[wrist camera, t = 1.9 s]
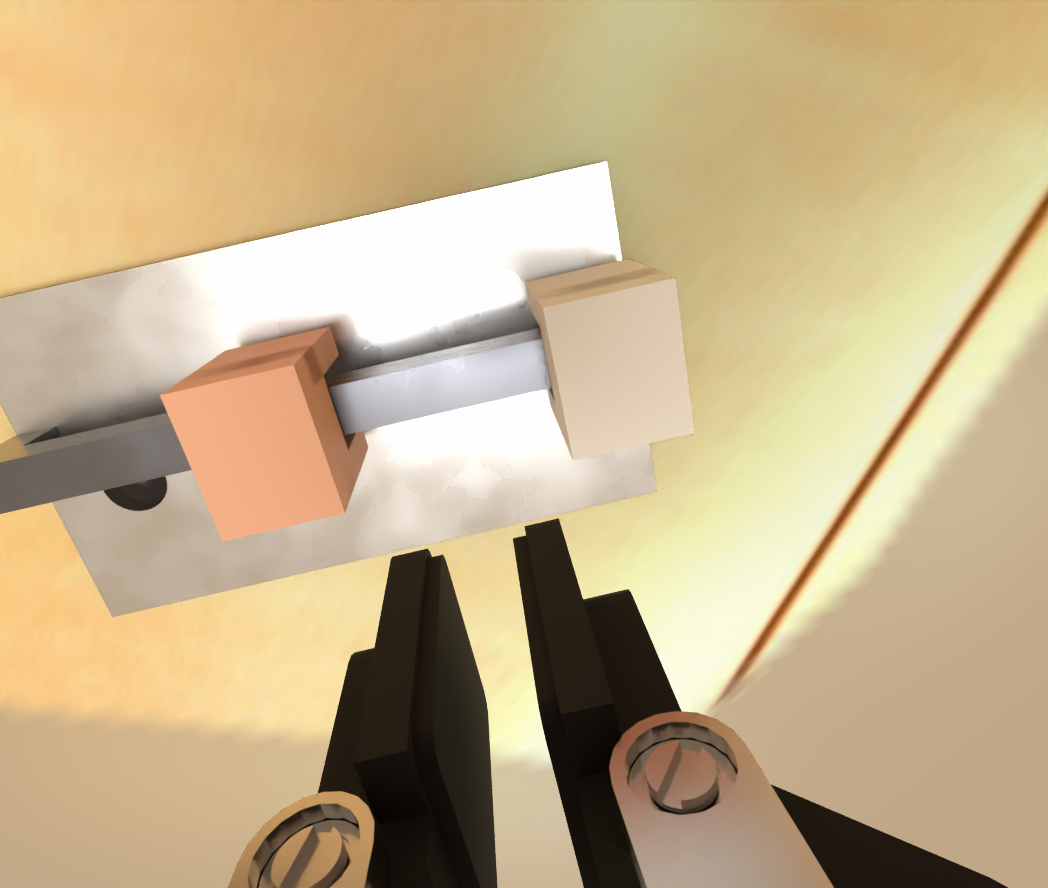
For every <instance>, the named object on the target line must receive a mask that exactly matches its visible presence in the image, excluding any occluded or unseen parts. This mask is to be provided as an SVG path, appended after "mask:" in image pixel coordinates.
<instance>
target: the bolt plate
mask: <svg viewBox="0 0 1048 888" xmlns="http://www.w3.org/2000/svg"><path fill="white" fill-rule="evenodd" d="M620 260H622V257H621V250H620V244H619V237H618V230H617V224H616V217H615V211H614V204H613V197H612V191H611V184H610V177H609V171H608V164H607V161H605V162H600V163H596V164H592V165H587V166H583V167H578V168H574V169H569V170H565V171H561V172H556V173H552V174H547V175H543V176H538V177H534V178H530V179H525V180H521V181H516V182H512V183H508V184H503V185H499V186H494V187H490V188H485V189H481V190H477V191H472V192H468V193H463V194H459V195H454V196H450V197H446V198H441V199H437V200H432V201H428V202H424V203H419V204H415V205H410V206H406V207H401V208H397V209H393V210H388V211H384V212H379V213H375V214H370V215H366V216H362V217H357V218H353V219H348V220H344V221H339V222H335V223H331V224H326V225H322V226H317V227H313V228H309V229H304V230H300V231H295V232H291V233H286V234H282V235H278V236H273V237H269V238H264V239H260V240H255V241H251V242H247V243H242V244H238V245H233V246H229V247H225V248H220V249H216V250H211V251H207V252H202V253H198V254H194V255H189V256H185V257H180V258H176V259H171V260H167V261H163V262H158V263H154V264H149V265H145V266H141V267H136V268H132V269H127V270H123V271H118V272H114V273H110V274H105V275H101V276H96V277H92V278H87V279H83V280H79V281H74V282H70V283H65V284H61V285H57V286H52V287H48V288H43V289H39V290H34V291H30V292H26V293H21V294H17V295H12V296H8V297H3V298H0V404H1V406H2V408H3V410H4V412H5V414H6V416H7V418H8V419H9V421H10V423H11V425H12V427H13V429H14V431H15V433H16V435H20V434H24V433H29V432H33V431H37V430H42V429H46V428H51V427H55V426H56V427H57V429H58V431H59V433H60V435H61V437H64V436H68V435H72V434H77V433H81V432H86V431H90V430H94V429H99V428H103V427H107V426H112V425H116V424H121V423H125V422H129V421H134V420H138V419H143V418H147V417H151V416H156V415H160V414H164V413H167V411H166V409H165V406H164V404H163V402H162V399H161V397H160V395H161V394H162V393H164V392H165V391H167V390H168V389H170V388H171V387H173V386H174V385H176V384H177V383H179V382H180V381H181V380H183V379H184V378H186V377H187V376H189V375H190V374H192V373H193V372H195V371H196V370H198V369H199V368H200V367H202V366H203V365H205V364H206V363H208V362H209V361H211V360H212V359H214V358H215V357H216V356H218V355H219V354H221V353H222V352H224V351H225V350H229V349H234V348H238V347H242V346H247V345H251V344H256V343H260V342H264V341H269V340H273V339H278V338H282V337H286V336H291V335H295V334H300V333H304V332H308V331H313V330H317V329H322V328H326V327H330V329H331V332H332V335H333V338H334V341H335V344H336V347H337V351H338V354H339V355H338V356H337V358H336V359H335V361H334V362H333V363H332V365H331V366H330V367H329V369H328V370H327V371H326V373H325V374H324V377H327V376H331V375H335V374H340V373H344V372H349V371H353V370H357V369H362V368H366V367H371V366H375V365H379V364H384V363H388V362H392V361H397V360H401V359H406V358H410V357H414V356H419V355H423V354H428V353H432V352H436V351H441V350H445V349H449V348H454V347H458V346H463V345H467V344H471V343H476V342H480V341H485V340H489V339H493V338H498V337H502V336H506V335H511V334H515V333H520V332H524V331H528V330H533V329H537V328H540V326H539V324H538V322H537V321H536V319H535V317H534V316H533V314H532V312H531V310H530V305H529V300H528V295H527V290H526V285H525V282H528V281H533V280H537V279H541V278H546V277H550V276H555V275H559V274H563V273H568V272H572V271H576V270H581V269H585V268H590V267H594V266H598V265H603V264H607V263H612V262H616V261H620ZM363 432H364V435H365V438H366V441H367V444H368V450H367V453H366V456H365V459H364V462H363V464H362V467H361V470H360V473H359V476H358V479H357V481H356V484H355V487H354V490H353V493H352V495H351V498H350V501H349V504H348V507H347V510H346V512H345V514H341V515H336V516H332V517H328V518H323V519H319V520H315V521H310V522H306V523H302V524H297V525H293V526H289V527H284V528H280V529H276V530H271V531H267V532H263V533H258V534H254V535H249V536H245V537H241V538H236V539H232V540H228V541H222V539H221V536H220V534H219V532H218V529H217V527H216V525H215V522H214V520H213V518H212V515H211V513H210V511H209V508H208V506H207V504H206V501H205V499H204V497H203V494H202V492H201V490H200V488H199V485H198V483H197V481H196V478H195V476H194V474H193V471H192V470H190V471H185V472H181V473H177V474H172V475H168V476H164V477H159V478H155V479H150V480H146V481H142V482H137V483H133V484H129V485H124V486H120V487H116V488H111V489H107V490H102V491H98V492H94V493H89V494H85V495H81V496H76V497H72V498H67V499H63V500H59V501H54V502H52V503H53V505H54V507H55V509H56V511H57V513H58V514H59V516H60V518H61V520H62V522H63V524H64V526H65V528H66V530H67V532H68V533H69V535H70V537H71V539H72V541H73V543H74V545H75V547H76V549H77V551H78V552H79V554H80V556H81V558H82V560H83V562H84V564H85V566H86V568H87V570H88V571H89V573H90V575H91V577H92V579H93V581H94V583H95V585H96V587H97V589H98V590H99V592H100V594H101V596H102V598H103V600H104V602H105V604H106V606H107V608H108V609H109V611H110V613H111V615H112V617H115V616H120V615H124V614H128V613H133V612H137V611H141V610H146V609H150V608H154V607H159V606H163V605H167V604H172V603H176V602H180V601H185V600H189V599H193V598H198V597H202V596H206V595H211V594H215V593H219V592H224V591H228V590H232V589H237V588H241V587H245V586H250V585H254V584H258V583H263V582H267V581H271V580H276V579H280V578H284V577H289V576H293V575H297V574H302V573H306V572H310V571H315V570H319V569H323V568H328V567H332V566H336V565H341V564H345V563H349V562H354V561H358V560H362V559H367V558H371V557H375V556H380V555H384V554H388V553H393V552H397V551H401V550H406V549H410V548H415V547H419V546H423V545H428V544H432V543H436V542H441V541H445V540H449V539H454V538H458V537H462V536H467V535H471V534H475V533H480V532H484V531H488V530H493V529H497V528H501V527H506V526H510V525H514V524H519V523H523V522H527V521H532V520H536V519H540V518H545V517H549V516H553V515H558V514H562V513H566V512H571V511H575V510H579V509H584V508H588V507H592V506H597V505H601V504H605V503H610V502H614V501H618V500H623V499H627V498H631V497H636V496H640V495H644V494H649V493H653V492H657V489H656V482H655V475H654V469H653V462H652V456H651V449H650V444H645V445H641V446H637V447H632V448H628V449H624V450H619V451H615V452H611V453H606V454H602V455H598V456H593V457H589V458H584V459H580V460H576V461H573V459H572V457H571V454H570V452H569V449H568V447H567V445H566V442H565V440H564V437H563V435H562V433H561V430H560V428H559V426H558V423H557V421H556V418H555V416H554V414H553V411H552V409H551V406H550V402H549V397H548V392H547V389H544V390H539V391H535V392H531V393H526V394H522V395H517V396H513V397H509V398H504V399H500V400H496V401H491V402H487V403H483V404H478V405H474V406H469V407H465V408H461V409H456V410H452V411H448V412H443V413H439V414H434V415H430V416H426V417H421V418H417V419H413V420H408V421H404V422H400V423H395V424H391V425H386V426H382V427H378V428H373V429H369V430H365V431H363Z"/></svg>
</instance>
